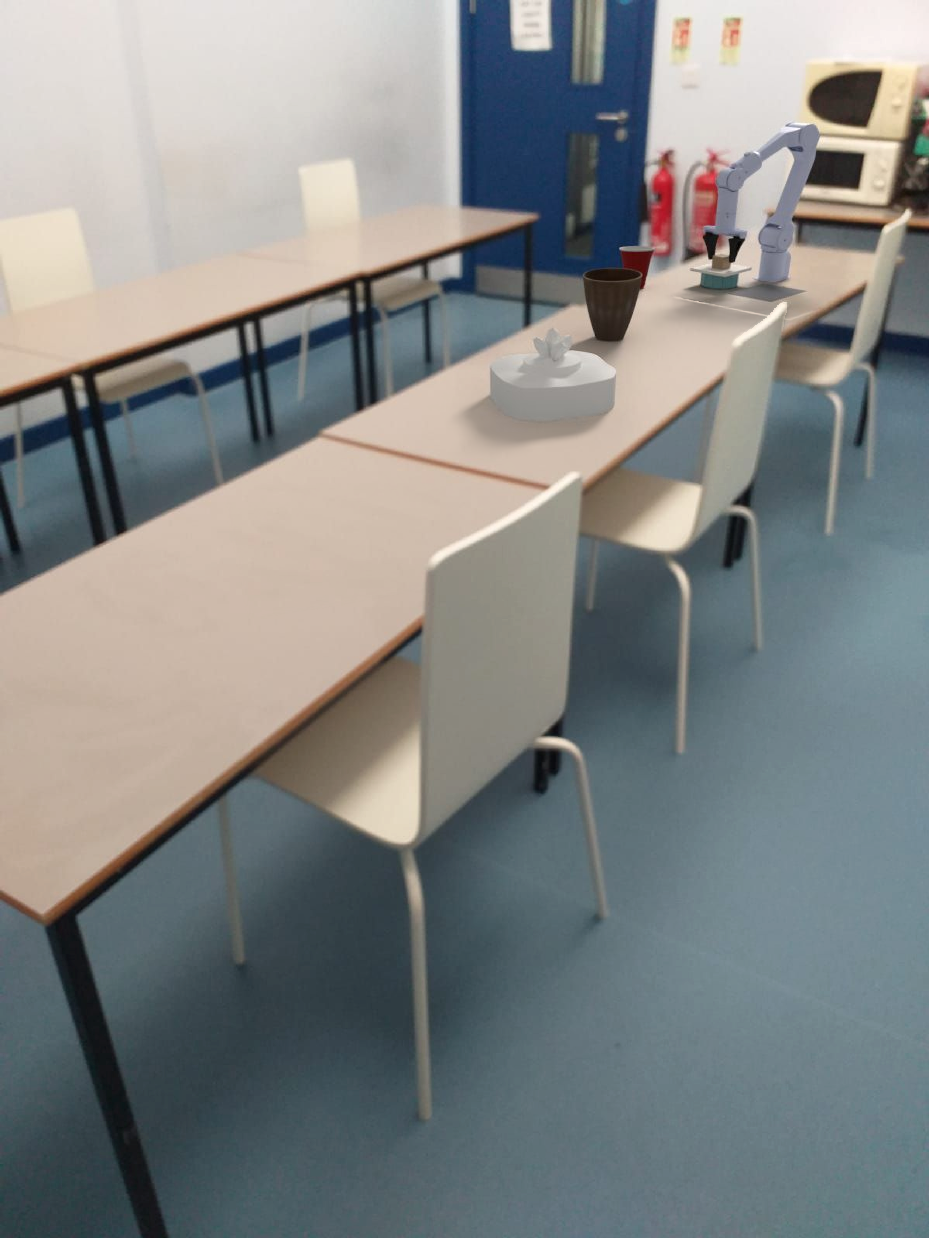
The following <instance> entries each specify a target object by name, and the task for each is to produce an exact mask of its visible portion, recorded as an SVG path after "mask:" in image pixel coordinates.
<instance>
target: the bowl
mask: <svg viewBox="0 0 929 1238" xmlns="http://www.w3.org/2000/svg"><path fill="white" fill-rule="evenodd" d="M700 274H701V275H700V282H699V284H700V285H701V286H702V287H703V288H706V289H710V290H711V289H712V290H728V289H733V288H736V287H737V286H738V285H739V276H740V273H738V274H735V275H731V276H727V277H722V276H716V275H711V274H705V273H700Z"/></svg>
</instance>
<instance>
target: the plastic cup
mask: <svg viewBox="0 0 929 1238" xmlns="http://www.w3.org/2000/svg"><path fill="white" fill-rule="evenodd" d="M655 250H656V247H654V246H647V245H643V246H642V245H633V246H632V245H631V246H629V245H628V246H622V247H619V251H620V254H621V255H620V256H621V261H622V268H624V269H632V270H636V271H639V272H641V273H642V280H641V285H640V290H641V289H645V288H644V287H645V285H646V282H647V277H648V273H649V269H650V264H651V260H652V257H653V254H654V251H655Z"/></svg>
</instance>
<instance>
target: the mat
mask: <svg viewBox="0 0 929 1238" xmlns="http://www.w3.org/2000/svg"><path fill="white" fill-rule="evenodd" d="M804 292H806V290H804V289H803V290H802V289H799V288H798V289H797V288H794V287H785V286H781V285H774V284H769V283H764V282H763V283H760V284H757V285H754V286H750V287H746V288H743V289H740V290H736V291H732V292H728V295H732V296H737V297H738V296H739V297H743V298H748V299H754V300H759V301H763V302H764V301H765V302H770V303H772V302H776V301H778V300H782V299H785V298H788V297H792V296H795V295H798V294H801V293H804Z"/></svg>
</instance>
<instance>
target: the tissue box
mask: <svg viewBox="0 0 929 1238" xmlns="http://www.w3.org/2000/svg"><path fill="white" fill-rule="evenodd" d="M532 341H533V346H534V348H535V350H536V351H537V352H533V353H519V354H518V353H517V354H510V355H505V356H502V357H500V358H499V357H498V358H497V359H495V360H494V361H492V362H491V363H490V364H489V381H490V383H489V386H490V387H489V389H490V392H489V393H490V396H489V397H490V401H491V402H492V403H493V404H494V406H496V407H497V409H498V410H499V411H500V412H501V413H502V414H503V415H505V416H506V417H509V418H511V419H514V420H517V421H523V422H531V423H532V422H535V423H536V422H537V423H541V422H542V423H544V422H547V423H548V422H555V421H556V422H557V421H563V420H570V419H571V420H572V419H580V418H589V417H594V416H599V415H603V414H606V413H608V412H610V411H612V410H613V409H614V407H615V405H616V403H615V402H616V382H617V370H616V368H615V367H613V366H612V365H611V364H608V363H607V362H606V361H604V360H603V358H601V357H600V356H599V355H597V354H595V353H591V352H587V351H580V350H573V349H572V350H570V349H571V346H572V342H573V339H572V335H569V334H568V335H566V334H565V335H563V336H560V333H559V331H558V329H556V328H555V327H553V326H552V327H551V328H549V329H548V330H547V332H546V334H545V337H544V339H542V338H541V337H538V336H536V337H534V339H532Z"/></svg>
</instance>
